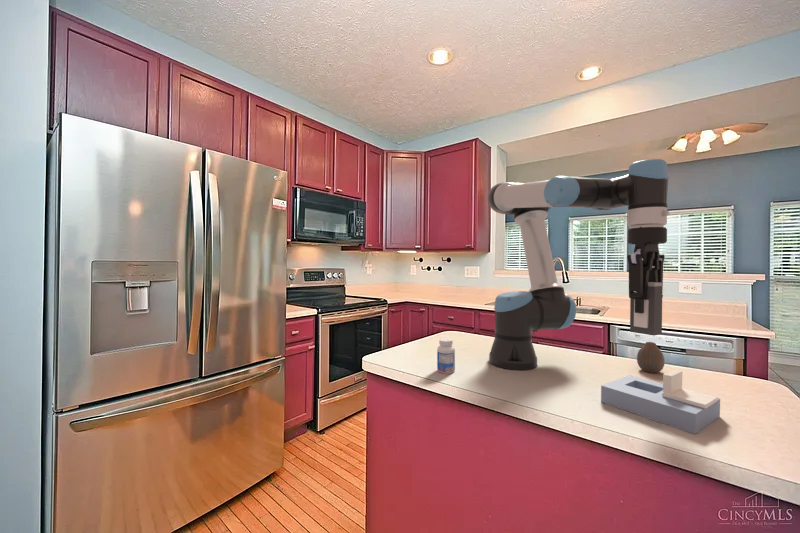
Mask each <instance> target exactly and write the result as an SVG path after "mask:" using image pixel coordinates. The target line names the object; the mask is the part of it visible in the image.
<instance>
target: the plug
mask: <svg viewBox="0 0 800 533" xmlns="http://www.w3.org/2000/svg"><path fill="white" fill-rule="evenodd" d="M662 292H663V291H662V283H661V282H648V289H647V298H646V300H649V309H648V328H642V327H636V326H634V299H631V298H629V299H630V300H629V302H630V304H629V305H630V306H629V309H630V310H629V312H630V313H629V315H630V316H629V332H631V333H634V334H635V333H636V334H642V335H648V336H658V335H662V334H663V331H662V330H663V298H662V295H663V293H662Z"/></svg>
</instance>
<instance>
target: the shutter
mask: <svg viewBox="0 0 800 533" xmlns="http://www.w3.org/2000/svg"><path fill="white" fill-rule="evenodd" d="M662 384H663V392H662V396H663V397H666V398H670V399H673V400H677V401H680V402H684V403H687V404H691V405H694V406H698V407H701V408H705V409H706V408H707V407H709V406H711V405H712V404H714V403H715V402H717V401H718V398H719V397H717V396H714V395H709V394H706V393H703V392H702V393H701V392H698V391H695V390H691V389H688V388H683V371H682V370H678V369H672V370H670V371H668V372H665V373H663V375H662Z"/></svg>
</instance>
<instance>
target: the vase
mask: <svg viewBox="0 0 800 533" xmlns="http://www.w3.org/2000/svg"><path fill="white" fill-rule="evenodd" d="M636 361H637V362H636V363H637V365H638V367H639V368H640V369H641V371H643V372H645V373H649V374H658V373H660V372H661V371H663V369H664V367H665V363H666V362H665V361H666V360H665V355H664V353H663V352H662V351H661V349H660V348H659V347H658V345H657V343H655V342H653V341H646V342H645V343H644V345H643V346H642V347H640V349H639V350H638V351H637V355H636Z"/></svg>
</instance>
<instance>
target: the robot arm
mask: <svg viewBox="0 0 800 533" xmlns="http://www.w3.org/2000/svg"><path fill="white" fill-rule="evenodd" d="M668 173H669V172H668V163H667V161H665V159H659V158H649V159H642V160H637V161H634V162H633V163H631V164H630V165H629V166H628V171H627V174H626V175H623V176H619V177H615V178H597V177H579V176H570V175H557V176H553V177H551V178H550V179H546V180H541V181H540V180H539V181H531V182H525V183H523V182H511V181H510V182H508V181H506V182H499V183H497V184H495V185H493V186H492V187H491V188H490V189H489V191H488V194H487V203H488V206H489V208H490V209H491V210H492V211H494V212H495V213H498V214H502V215H511V216H512V215H513V219H514V222H515V223H516V224H517V225H519V227H520V233H521V238H522V239H521V240H522V244H523V249H524V254H525V260H526V265H527V270H528V271H527V272H528V277H529V282H530V289H529V290H528V291H525V290H523V291H522V290H521V291H520V290H519V291H507V292H503V293H499V294H498V295H497V296H496V297H495V301H494V308H493V309H494V340H493V343H492V345H491V348H490V351H489V354H488V356H489V357H488V362H489V363H490V364H492V365H493V366H495V367H498V368H502V369H506V370H516V371H519V370H520V371H524V370H525V371H527V370H532V369H535V368H537V367H538V357H537V355H536V351H535V347H534V344H533V341H532V340H533V338H532V336H533V331H548V330H549V331H550V330H552V331H556V330H557V331H558V330H561V329H562V330H563V329H566V328H567V329H568V327H570V326H571V325H572V324H573V322H574V320H575V319H576V315H577V305H576V302H575V299H574V298H572V296H570V295H568V294H566V292H565V288H564V286H563V285H561V284H559V283H558V280H557V274H556V270H555V265H554V261H553V260H554V259H553V254H552V250H551V244H550V239H549V236H548V231H547V230H548V229H547V226H546V221H545V220H546V219H547V217H548V215H549V212H550V211H551V209H552V208H585V209H587V208H588V209H589V208H591V209H592V210H594V211H609V210H612V209H616V208H617V209H618V208H622V207H627V226H628V227H629V229H628V230H627V243H628V244H629V245H634V249H633V253H629V254H627V258H626V259H627V262H628V298H629V299H630V298H631V299H634V326H636V327H642V328H648V309H649V300H646V298H647V289H648V282H661V283H662V299H663V297H664V295H663V290H664V289H663V285H664V283H663V282H664V262H665V257H666V256H665V254H663V253H661V254H660V248H659V245H661V244H662V245H663V244H664V245H665V244H666V243H667V242H668V228H667V227H664V226H666V225H667V224H668V216H669V215H670V211H668V188H669V187H668V185H669V179H670V178H669V174H668Z"/></svg>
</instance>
